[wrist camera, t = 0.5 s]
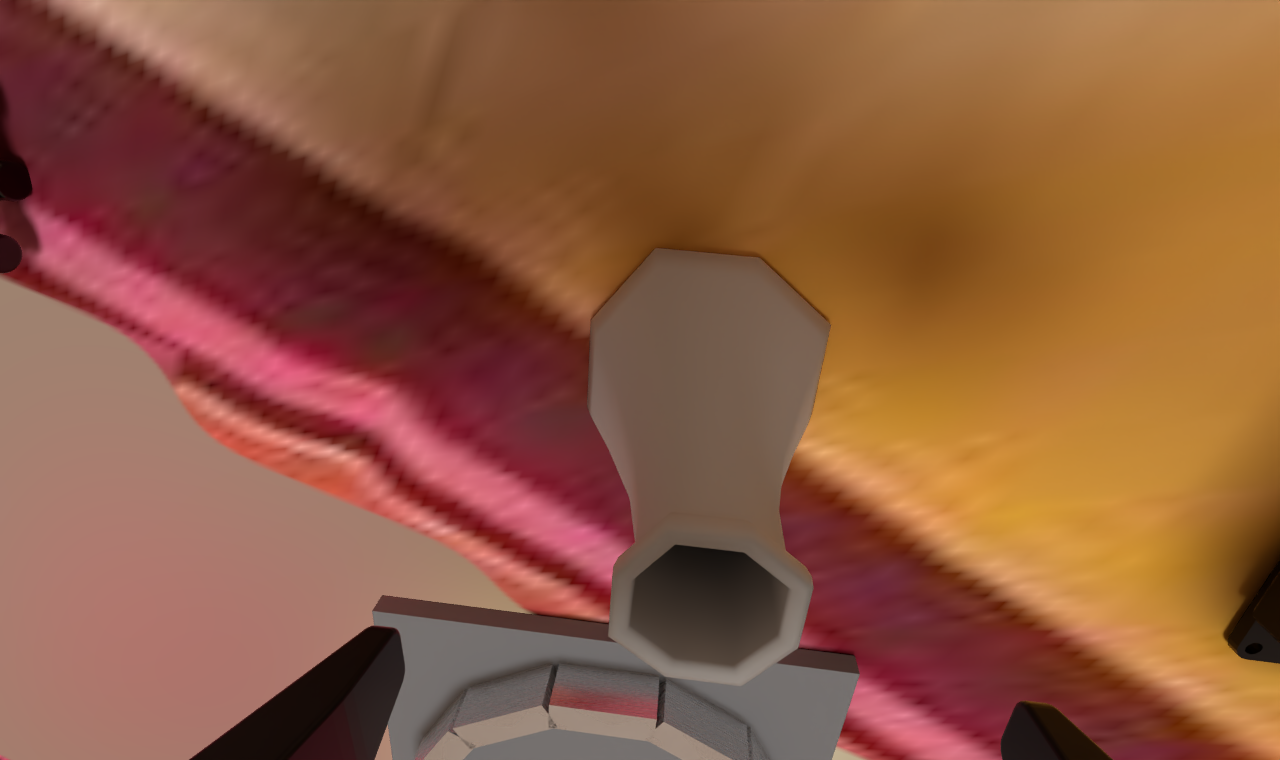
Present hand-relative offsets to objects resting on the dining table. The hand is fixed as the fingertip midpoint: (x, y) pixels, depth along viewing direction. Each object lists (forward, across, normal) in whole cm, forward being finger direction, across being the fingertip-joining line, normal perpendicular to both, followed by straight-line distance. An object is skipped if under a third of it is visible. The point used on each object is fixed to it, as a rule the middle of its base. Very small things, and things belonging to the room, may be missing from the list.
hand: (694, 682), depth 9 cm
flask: (+11, 0, 0) cm, 11 cm away
